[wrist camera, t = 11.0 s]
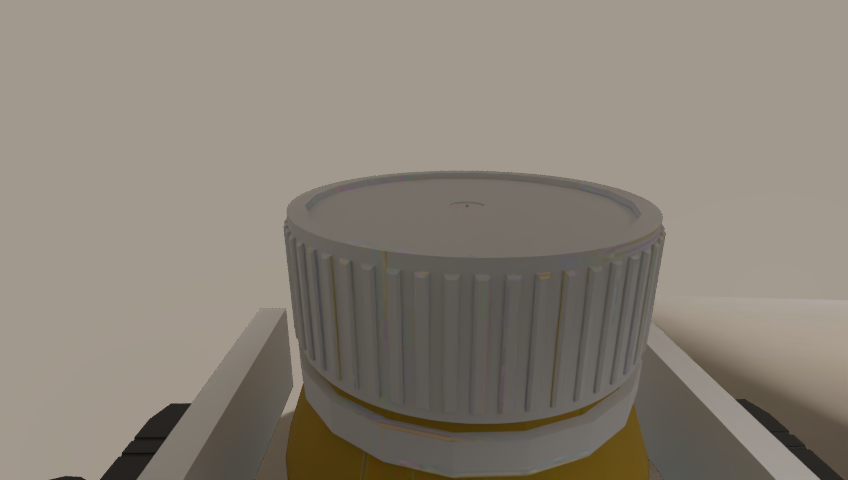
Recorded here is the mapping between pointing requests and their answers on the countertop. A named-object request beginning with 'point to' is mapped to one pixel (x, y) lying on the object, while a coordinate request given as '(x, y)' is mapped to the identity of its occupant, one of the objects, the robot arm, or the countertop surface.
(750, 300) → the countertop surface
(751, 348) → the countertop surface
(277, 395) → the robot arm
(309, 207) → the bottle
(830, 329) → the countertop surface
